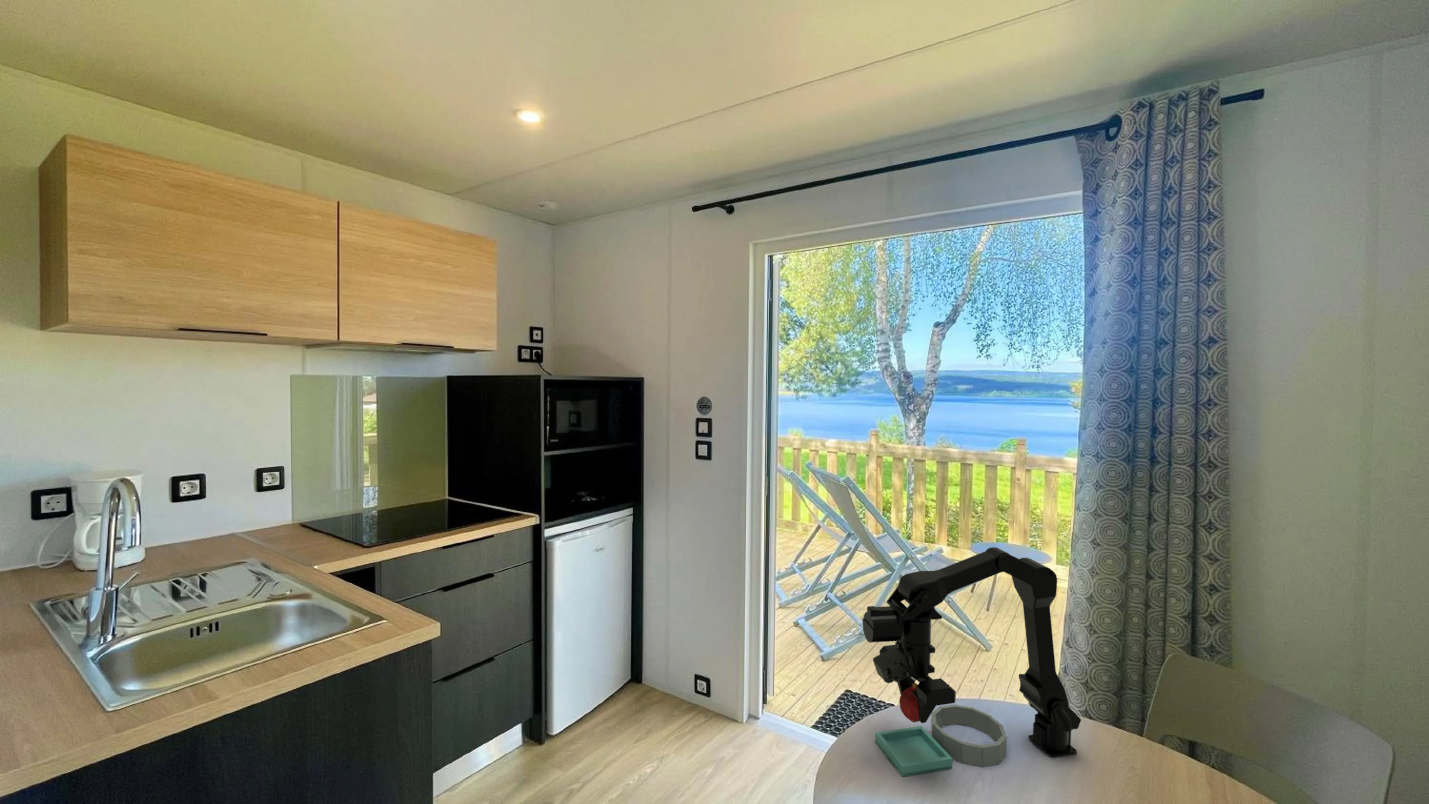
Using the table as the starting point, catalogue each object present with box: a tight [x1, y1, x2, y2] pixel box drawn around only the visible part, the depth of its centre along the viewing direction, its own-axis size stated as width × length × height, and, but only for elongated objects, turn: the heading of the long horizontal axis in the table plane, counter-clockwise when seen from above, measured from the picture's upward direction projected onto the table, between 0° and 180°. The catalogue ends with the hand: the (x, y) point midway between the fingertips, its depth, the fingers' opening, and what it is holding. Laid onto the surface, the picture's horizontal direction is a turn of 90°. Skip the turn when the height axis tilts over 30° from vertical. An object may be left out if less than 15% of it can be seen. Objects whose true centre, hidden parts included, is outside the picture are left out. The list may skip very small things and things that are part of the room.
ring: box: [930, 703, 1008, 768], centre depth 119 cm, size 14×14×4 cm
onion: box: [899, 682, 920, 723], centre depth 115 cm, size 6×6×8 cm
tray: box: [874, 725, 954, 778], centre depth 116 cm, size 11×11×2 cm
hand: (914, 713), depth 115 cm, fingers closed on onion, 6 cm apart
